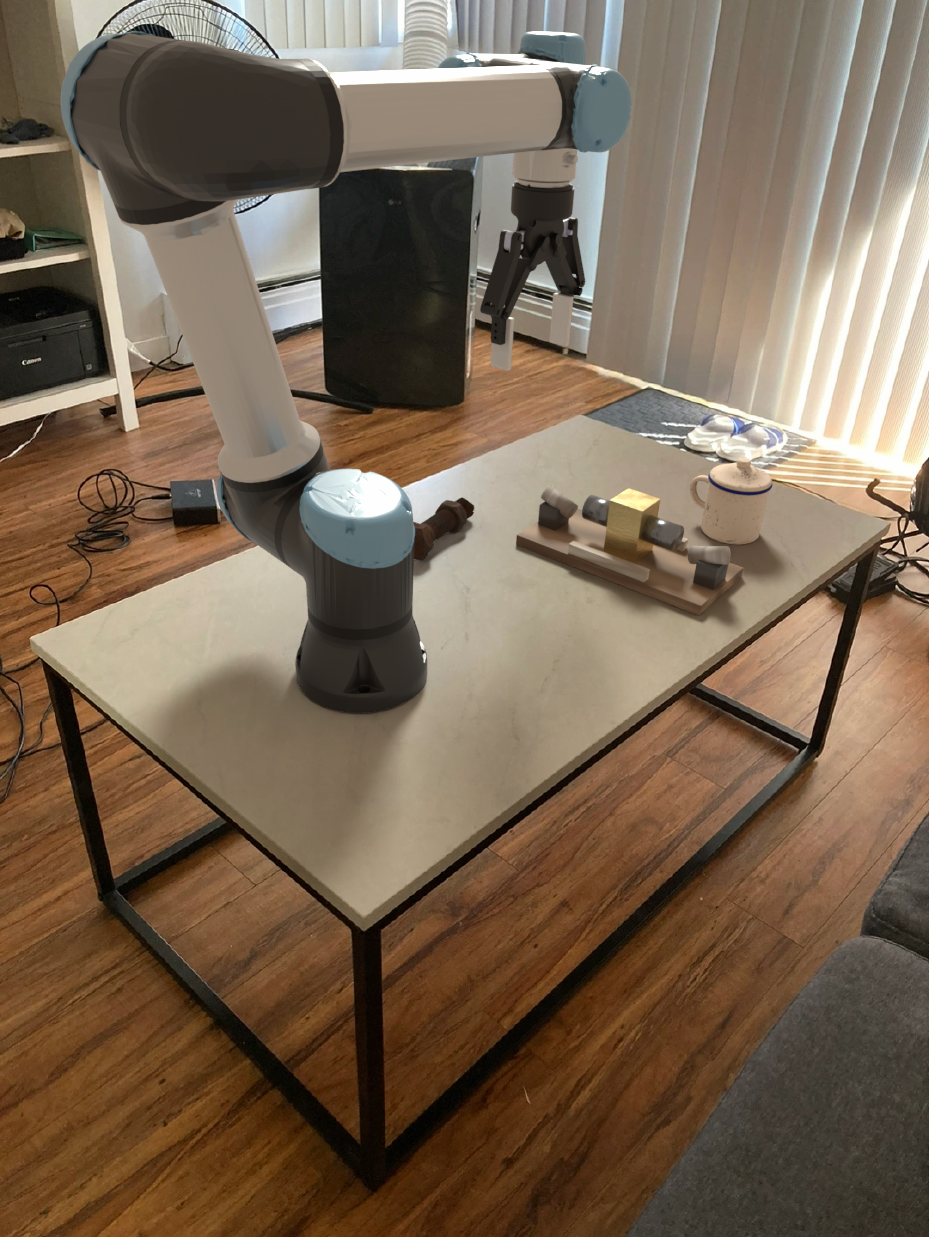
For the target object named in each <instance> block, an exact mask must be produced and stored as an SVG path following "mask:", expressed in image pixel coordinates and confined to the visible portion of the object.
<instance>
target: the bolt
mask: <svg viewBox="0 0 929 1237" xmlns="http://www.w3.org/2000/svg"><path fill="white" fill-rule="evenodd" d="M474 511H475V505H474V504H473V503H472V502H470V501H469V500H468V499H466V498H465V497H459V498H457V500H448V499H446V500H444V501H443V502H441V503H440V504H439V506H438V507H437V508H436V510H435V513H434V514H433V515H431V516H430V517H428V518H426V519H425V520H424V521H422V522H421V523H418V522H416V521H413V522H414V527H415V537H414V540H415V541H414V561H423V560H424V559H426V558H427V557H428V556H429V554H430V552H432V550H433V548H434V547H435V542H436V541H437V540H439V539H441V538H442V537H444V536H445V535H446V534H448V533H450V534H457V533H458V532H460V531H461V530H462V529H463V528H464V526H465V525H466V523H468V519H469V518H471V517H472V516H474V514H475V512H474Z"/></svg>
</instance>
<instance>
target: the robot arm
mask: <svg viewBox="0 0 929 1237" xmlns="http://www.w3.org/2000/svg"><path fill="white" fill-rule="evenodd" d="M586 51H587V45H586V40H585V39H584V37H583V36H582V35H580V34H578V33H574V32H561V31H538V30H537V31H535V30H534V31H526V32H524V33H523V34H522V36H521V38H520V45H519V49H518V51H517V53H514V54H513V53H511V54H509V53H471V52H466V53H465V54H459V55H457V54H456V55H451V56H448V57H446V58H444V60H442V61H441V63H440V64H439V65H438V66H437V68H425V69H423V68H420V69H396V70H395V69H394V70H393V69H391V70H388V69H387V70H368V71H366V70H361V71H335V72H334V71H333V72H329V70H327V68H326V67H325V66H324V65H323V64H321V63H320V62H319V61H316V60H315V59H311V58H276V57H271V56H264V55H258V54H254V53H253V54H252V53H248V52H244V51H238V50H235V49H231V48H225V47H222V46H218V45H214V44H210V43H205V42H200V41H193V40H192V41H191V40H184V39H183V40H182V39H177V38H170V37H164V36H163V37H162V36H157V35H154V34H152V33H148V32H144V31H137V30H132V31H127V32H123V33H121V32H120V33H118V32H117V33H109V34H105V35H101V36H99V37H97V38H95V39H93V40H91V41H89V42H88V43H87V44H85V45H84V46H83V47H82V48H80V49H79V50H78V52H77V53H76V54H75V56H74V57H73V58H72V60H71V61H70V63H69V65H68V67H67V70H66V72H65V76H64V78H63V80H62V85H61V88H60V89H61V91H60V111H61V118H62V122H63V126H64V129H65V131H66V134H67V136H68V138H69V140H70V142H71V144H72V145H73V146H74V148H75V150H76V151H77V152H78V154H79V155H80V156H82V157H83V160H84V161H86V163H87V164H89V165H90V166H92V167H93V168H94V169H95V170H97V171H100V173H101V176H102V178H103V181H104V184H105V186H106V188H107V190H108V193H109V195H110V198H111V202H112V203H113V206H114V209H115V211H116V213H117V216H118V218H119V220H120V222H121V223H122V224H123V225H125V226H127V227H129V228H131V229H133V230H135V231H137V232H139V233H141V234H142V235H143V236H144V238H145V239H144V240H145V241H146V243H147V246H148V249H149V251H150V254H151V257H152V259H153V261H154V264H155V267H156V270H157V273H158V274H159V278H160V279H161V283H162V285H163V288H164V291H165V293H166V296H167V299H168V301H169V304H170V306H171V308H172V311H173V313H174V316H175V319H176V322H177V324H178V327H179V329H180V332H181V334H182V336H183V341H184V343H185V345H186V348H187V350H188V352H189V356H190V358H191V360H192V363H193V366H194V369H195V371H196V374H197V377H198V379H199V382H200V383H201V387H202V390H203V391H204V395H205V397H206V399H207V402H208V406H209V407H210V411H211V412H212V415H213V418H214V420H215V423H216V425H217V428H218V431H219V433H220V436H221V438H222V441H223V446H222V448H221V449H220V452H219V453H218V455H217V466H218V470H219V472H220V475H219V477H217V479H216V486H215V488H216V497H217V502H218V505H219V507H220V508H219V509H220V510H221V512H222V514H223V515H224V517H225V518H226V520H227V521H228V522H229V523H230V524H231V526H232V527H233V528H234V529H235V530H236V531H237V532H238V534H240V535H241V536H243V537H244V538H245V539H247V540H248V541H250V542H252V543H254V544H255V545H256V546H259V547H260V548H261V549H262V550H264V551H266V552H267V553H268V554H270V555H271V556H273V557H274V558H276V559H277V560H278V561H280V562H281V563H282V564H284V565H286V566H287V567H288V568H290V569H292V571H294V572H295V573H297V574H299V575H300V576H301V577H302V578H303V579H304V581H305V590H306V603H307V604H306V605H307V621H306V624H305V627H304V630H303V634H302V637H301V639H300V644H299V647H298V649H297V652H296V655H295V661H294V662H295V678H296V679H295V680H296V682H297V685H298V688H299V689H300V691H301V693H302V694H303V695H304V696H305V697H306V698H307V699H309V700H310V701H312V702H313V703H315V704H317V705H319V706H321V707H323V708H325V709H329V710H332V711H337V712H339V713H340V712H341V713H349V714H371V713H376V712H383V711H387V710H390V709H394V708H396V707H399V706H402V705H403V704H405V703H407V702H408V701H410V700H412V699H413V698H414V697H415V696H416V695H418V694H419V692H420V691H421V690H422V689H423V687H424V686H425V684H426V681H427V677H428V655H427V654H428V653H427V650H426V647H425V646H424V643H423V642H422V640H421V636H420V632H419V629H418V627H417V624H416V620H415V619H414V616H413V614H414V613H413V608H414V606H413V604H414V603H413V602H414V601H413V600H414V564H415V563H414V562H415V559H414V541H415V540H414V537H415V527H414V522H415V521H414V514H413V506H412V503H411V500H410V498H409V496H408V495H407V493H406V491H405V490H404V489H403V488H402V487H401V486H400V485H399V484H397V482H395V481H394V480H392V479H390V478H389V477H387V476H384V475H382V474H379V473H377V472H375V471H374V472H373V471H367V472H363V471H362V470H361V469H357V468H339V469H331V467H330V465H329V462H328V459H327V456H326V453H325V449H324V447H323V444H322V440H321V436H320V435H319V431H318V430H317V429H316V428H315V427H314V426H313V425H311V424H309V423H308V422H305V421H302V420H300V416H299V413H298V410H297V407H296V404H295V400H294V398H293V394H292V392H291V388H290V384H289V382H288V379H287V375H286V372H285V369H284V366H283V363H282V360H281V357H280V353H279V350H278V347H277V343H276V341H275V337H274V335H273V331H272V329H271V324H270V322H269V318H268V315H267V312H266V309H265V306H264V302H263V299H262V296H261V294H260V290H259V287H258V283H257V281H256V277H255V274H254V271H253V268H252V265H251V262H250V258H249V254H248V252H247V250H246V249H247V248H246V245H245V242H244V240H243V236H242V233H241V230H240V226H239V223H238V220H237V217H236V214H235V210H234V207H235V206H236V203H237V202H238V200H239V201H240V200H243V199H251V198H252V199H253V198H257V197H264V196H270V195H277V194H278V195H279V194H284V193H285V194H286V193H290V192H298V191H303V190H304V191H305V190H312V189H321V188H324V187H328V186H329V185H331V184H332V183H334V182H335V180H336V179H337V178H338V176H339V174H340V173H344V172H353V171H354V172H355V171H362V170H373V169H380V168H389V167H399V166H400V167H401V166H407V165H408V166H409V165H417V164H425V163H427V164H428V163H435V162H443V161H445V162H447V161H453V160H463V159H473V158H479V157H480V158H481V157H491V156H499V155H507V154H513V158H512V159H513V160H512V176H513V177H514V179H516V181H514V182H513V184H512V185H511V198H510V199H511V202H510V212H511V214H512V215H513V216H514V217H516V219H517V227H516V230H515V231H512V230H509V229H502V230H501V231H500V234H499V241H498V250H497V253H496V256H495V260H494V264H493V266H492V269H491V272H490V275H489V279H488V282H487V286H486V289H485V292H484V295H483V298H482V302H481V305H480V313H481V314H483V315H487V316H490V317H491V318H490V319H491V328H490V342H491V348H490V367H492V368H496V369H500V370H503V371H506V372H509V371H511V370H512V360H513V347H514V346H513V343H514V326H515V317H511V315H512V313H513V310H514V307H515V306H516V303H517V301H518V299H519V298H520V295H521V293H522V290H523V289H524V286H525V284H526V283H527V280H528V278H529V277H530V274H531V272H534V271H535V270H536V269H537V267H538V266H539V265H542V264H543V263H544V262H545V264H546V267H547V269H548V271H549V273H550V276H551V278H552V281H553V283H554V284H555V285H554V286H556V287H555V288H556V289H557V292H555V293H552V304H551V306H552V307H551V319H550V327H549V328H550V331H549V343H552V344H556V345H558V346H559V345H560V346H563V347H569V345H570V339H571V338H570V335H571V325H572V318H573V317H572V316H573V310H574V309H573V308H574V298H575V296H578V297H580V296H582V294H583V288H584V287H585V284H586V279H585V278H586V277H585V272H584V271H585V270H584V266H583V260H582V253H581V249H580V248H581V247H580V242H579V237H578V229H579V226H578V225H579V220H578V218H576V217H572V215H573V208H574V199H575V198H574V196H575V187H574V185H573V184H572V183H570V182H572V181H574V179H576V172H577V171H576V169H577V163H578V160H579V159H578V158H579V157H578V151H579V152H580V153H588V152H590V153H605V152H608V151H610V150H612V149H613V148H614V147H616V146H617V145H618V144H619V143H620V141H621V140H622V139H623V138H624V135H625V133H626V132H627V129H628V126H629V123H630V119H631V111H632V110H631V108H632V104H633V102H632V100H633V99H632V92H631V89H630V86H629V82H628V81H627V80H626V78H625V77H624V75H623V74H621V73H620V72H619V71H618V70H616V69H612V68H608V67H602V66H599V64H592V65H591V64H590V65H586V60H587V59H586V58H587V57H586V53H587V52H586ZM558 292H559V293H558Z"/></svg>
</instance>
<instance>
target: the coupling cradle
mask: <svg viewBox="0 0 929 1237" xmlns="http://www.w3.org/2000/svg"><path fill="white" fill-rule="evenodd" d="M540 499H541V500H543V501H544V502H542V503H540V504H539V508H538V509H539V510H538V518H537V520H538V521H537V522H535V523H533V524H531V526H529V527H527V528H525V529H524V530H522V531H521V532H519V533H517V534H516V540H515V541H516V542H515V544H516V545H517V546H519V547H522V548H525V549H528V550H530V551H533V552H536V553H538V554H541V555H542V556H546V557H549V558H551V559H552V560H553V559H554V560H556V561H559V562H562V563H564V564H566V565H569V566H571V567H574V568H576V569H579V570H581V571H584V572H586V573H589V574H590V575H591V574H592V575H595V576H597V577H600V578H601V579H605V580H607V581H610V582H612V583H614V584H617V585H620V586H621V587H624V588H627V589H630V590H632V591H635V592H637V593H640V594H642V595H645V596H648V597H651V598H653V599H656V600H658V601H661V602H663V603H666V604H668V605H671V606H674V607H676V608H679V609H681V610H683V611H686V612H689V613H691V614H693V615H697V616H701V615H702V613H704V612H706V610H708V608H709V607H710V606H712V604H714V603H715V602H716V601H717V600H718V599H719V598H720V597H721V596H722V595H723V594H725V593H726V591H728V590H729V589H730V588H731V587H732V586H733V585H734V584H735V583H736V582H738V581H739V580H740V579H741V578H742V575H743V571H744V567H743V566H739V565H737V564H734V563H732V562H730V560H731V557H732V555H731V554H732V553H731V549H730V547H729V546H727V545H719V546H718V545H692V546H690V547H688V542H689V538H686V537H684V536H683V539H682V541H681V544H680V545H679V547H678V548H677V549H676V550H675V551H670V550H668V549H665V548H662V547H659V546H657V545H654V544H653V549H652V551H651V552H649V553H648V554H647V555H645V556H644V557H643V558H641V559H640V560H639V561H637V562H636V563H635V564H634V563H632V562H629V561H627V560H624V559H621V558H619V557H616V556H613V555H611V554H608V553H605V552H603V551H604V543H605V535H606V528H607V527H605V526H602V525H599V524H597V523H594V522H591V521H588V520H586V519H584V518H583V517H582V509H580V508H579V505H578V504H577V503H575V502H574V501H573V500H571V499H570V498H569V497H567V496H566V495H565V494H564V493H562V492H561V491H560V490H558V489H557V488H556V487H554V486H553V485H552V484H549V485H548V486H546V488H545V489H544V490H543V492H542V493H541V496H540Z"/></svg>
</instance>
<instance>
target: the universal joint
mask: <svg viewBox="0 0 929 1237" xmlns="http://www.w3.org/2000/svg"><path fill="white" fill-rule="evenodd" d="M660 504H661V498H660V497H659V498H658V497H657V496H653V495H650V494H648V493H644V492H641V491H638V490H635V489H633V488H629V487H628V488H627V489H625V490H624V491H622V492H620V493H619V494H617V495H616V496H614V497H613V498H611V499H610V500H609V499H606V498H603V497H601V496H598V495H595V494H591V495H589V496H588V497H587V498H586V499H585V501H584V504H583V506H582V509H581V510H582V517H583V518H584V519H586V520H588V521H591V522H594V523H597V524H599V525H602V526H605V527H607V528H606V535H605V543H604V551H603V552H605V553H608V554H611V555H613V556H616V557H619V558H621V559H624V560H627V561H629V562H632V563H634V564H635V563H636V562H637V561H639V560H640V559H641V558H643V557H644V556H645V555H647V554H648V553H649V552H651V551H652V549H653V544H654V545H657V546H659V547H662V548H665V549H668V550H670V551H675V550H676V549H677V548H678V547H679V545H680V544H681V541H682V539H683V537H684V534H685V528H684V526H683V525H681V524H678V523H676V522H672V521H670V520H666V519H663V518H661V517H659V512H660Z"/></svg>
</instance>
